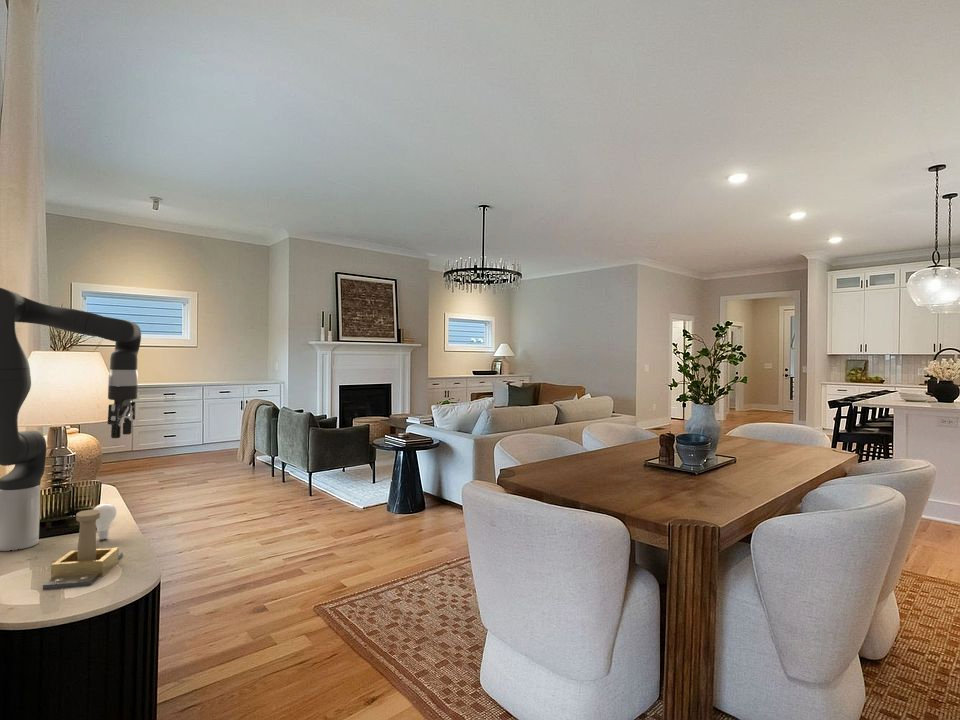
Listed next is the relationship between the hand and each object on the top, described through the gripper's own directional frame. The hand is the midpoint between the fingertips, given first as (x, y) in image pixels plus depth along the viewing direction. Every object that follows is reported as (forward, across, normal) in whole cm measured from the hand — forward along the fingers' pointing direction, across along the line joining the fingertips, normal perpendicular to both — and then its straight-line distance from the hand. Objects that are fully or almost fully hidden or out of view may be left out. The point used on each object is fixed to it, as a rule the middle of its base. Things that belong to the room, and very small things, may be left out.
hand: (121, 436), depth 159 cm
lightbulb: (+31, +3, -3) cm, 32 cm away
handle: (+31, +29, +3) cm, 42 cm away
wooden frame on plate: (+31, +29, +3) cm, 42 cm away
